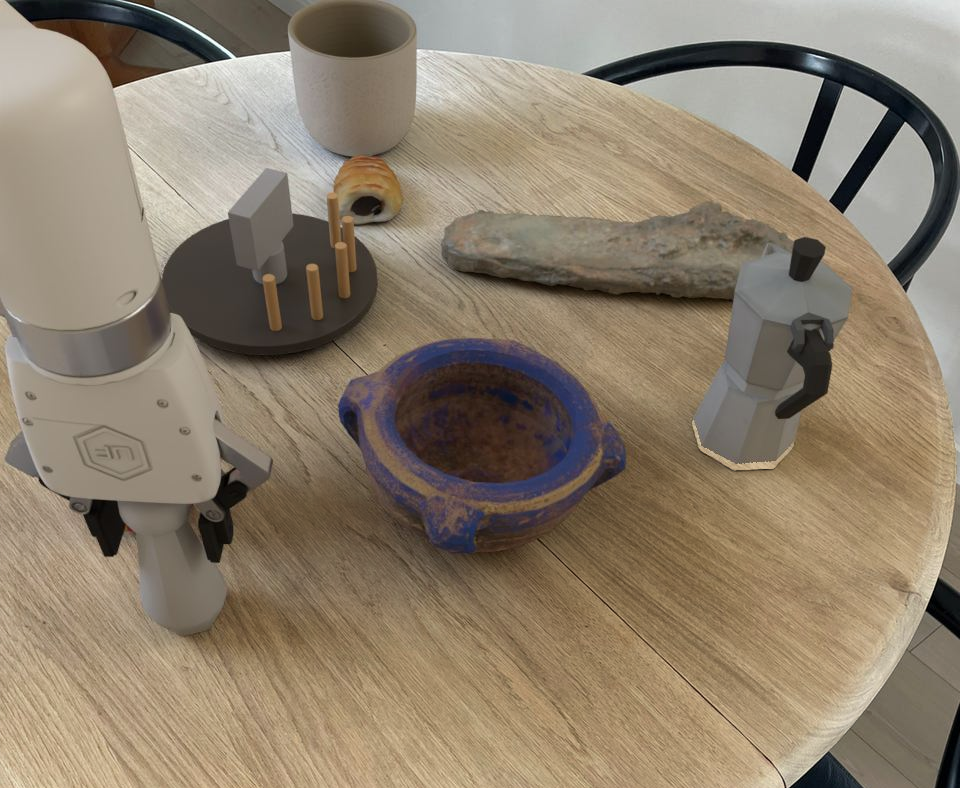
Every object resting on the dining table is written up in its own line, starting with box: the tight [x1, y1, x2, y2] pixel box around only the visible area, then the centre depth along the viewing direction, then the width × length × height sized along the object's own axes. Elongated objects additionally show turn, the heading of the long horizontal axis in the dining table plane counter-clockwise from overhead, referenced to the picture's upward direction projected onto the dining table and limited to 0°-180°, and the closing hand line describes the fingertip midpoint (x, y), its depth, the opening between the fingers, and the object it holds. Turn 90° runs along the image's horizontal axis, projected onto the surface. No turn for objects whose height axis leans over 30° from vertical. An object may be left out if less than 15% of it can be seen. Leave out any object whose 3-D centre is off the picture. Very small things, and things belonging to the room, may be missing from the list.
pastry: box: [332, 155, 404, 225], centre depth 99 cm, size 9×7×4 cm
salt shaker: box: [117, 501, 228, 637], centre depth 66 cm, size 6×6×13 cm
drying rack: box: [161, 167, 379, 356], centre depth 87 cm, size 19×19×9 cm
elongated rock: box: [440, 200, 794, 300], centre depth 94 cm, size 35×5×10 cm
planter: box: [287, 0, 418, 158], centre depth 102 cm, size 12×12×11 cm
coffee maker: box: [692, 236, 854, 464], centre depth 76 cm, size 15×9×18 cm, turn 5°
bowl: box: [337, 337, 627, 555], centre depth 75 cm, size 18×18×10 cm
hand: (166, 541), depth 65 cm, fingers open, 6 cm apart
